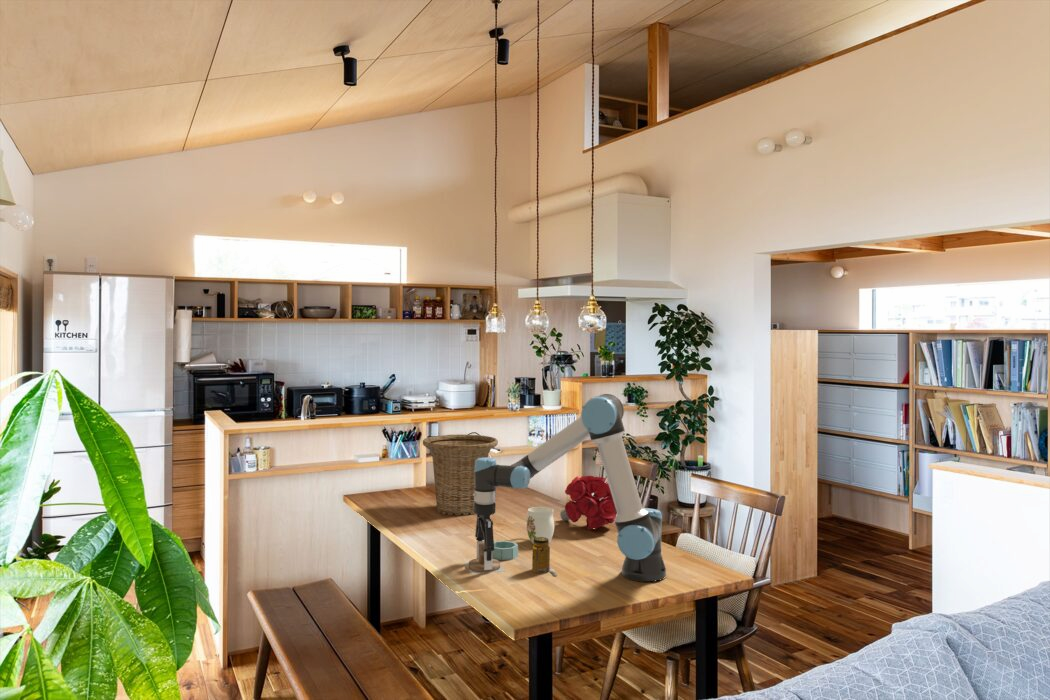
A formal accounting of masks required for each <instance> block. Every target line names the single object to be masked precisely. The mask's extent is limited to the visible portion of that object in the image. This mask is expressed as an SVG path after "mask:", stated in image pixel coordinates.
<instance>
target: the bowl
mask: <svg viewBox="0 0 1050 700" xmlns="http://www.w3.org/2000/svg"><path fill="white" fill-rule="evenodd" d="M517 557H519V544H518V543H516V542H515V541H509V540H499V541H498V540H496V541H494V551H492V559H496V560H498V561H508V560H509V561H510V560H513V559H515V558H516V559H517Z"/></svg>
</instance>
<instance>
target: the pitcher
mask: <svg viewBox="0 0 1050 700" xmlns="http://www.w3.org/2000/svg"><path fill="white" fill-rule="evenodd" d="M554 510H555V509H554V508H552V507H547V506H533V507H529V508H528V509H527V514H526V532H527V536H528V538H529V540H530V542H531V544H533V545H534V539H535V538H537V537H544V538H548V540H549V543H550V542H551V541H552V539H553V535H554V533H555V520H554V512H555V511H554Z"/></svg>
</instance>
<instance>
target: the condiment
mask: <svg viewBox="0 0 1050 700" xmlns="http://www.w3.org/2000/svg"><path fill="white" fill-rule="evenodd" d="M549 544H550V542H549V540H548V538H544V537H537V538H535V539H534V544H533V545H532V552H531V553H532V554H531V555H532V560H531V561H532V562H531V563H532V564H531V566H532V567H531V568H532V569H531V570H532V573H535V574H542V575H543V574H548V573H549V574H551V575H552V576H557V573H556V571H555V569H554V568H550V565H551V563H550V560H551V559H550V557H551V556H550V555H551V553H550V551H551V547H550V545H549Z"/></svg>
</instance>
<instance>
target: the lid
mask: <svg viewBox="0 0 1050 700" xmlns="http://www.w3.org/2000/svg"><path fill="white" fill-rule="evenodd" d="M484 549H485V543H480V544H479V558H478V559H477V558H474V559H473V558H472V560H471V559H470V560H469V562H468V563H469V569H470V570H472V571H476V572H491V573H493V572H492V571H496V570H498V569H499V568H500V565H501V562H500V560H497V559H493V558H492V569H490V570H484V551H483V550H484Z"/></svg>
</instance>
